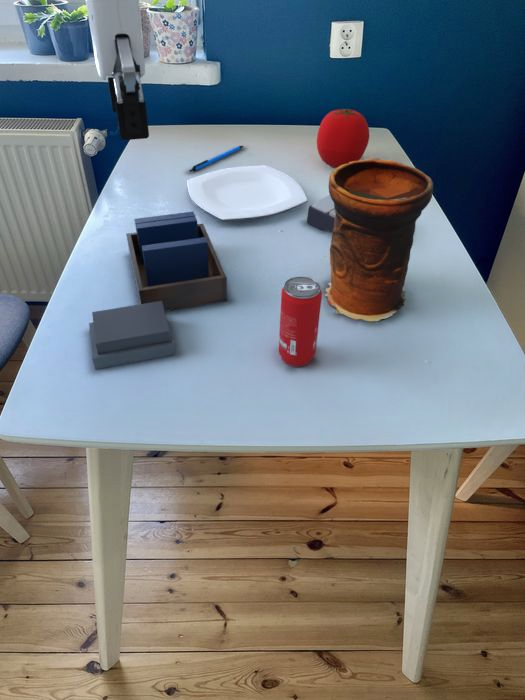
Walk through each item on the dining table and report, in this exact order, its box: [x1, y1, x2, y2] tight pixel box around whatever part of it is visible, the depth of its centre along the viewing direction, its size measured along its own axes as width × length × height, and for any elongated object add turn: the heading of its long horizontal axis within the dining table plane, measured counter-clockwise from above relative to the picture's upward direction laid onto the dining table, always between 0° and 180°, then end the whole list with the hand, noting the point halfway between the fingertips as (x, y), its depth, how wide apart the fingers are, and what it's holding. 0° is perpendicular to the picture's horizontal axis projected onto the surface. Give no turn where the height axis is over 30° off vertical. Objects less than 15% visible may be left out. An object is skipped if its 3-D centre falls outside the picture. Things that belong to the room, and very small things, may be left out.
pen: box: [188, 145, 244, 173], centre depth 127 cm, size 1×19×1 cm, turn 142°
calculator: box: [306, 194, 336, 233], centre depth 103 cm, size 11×4×15 cm
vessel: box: [324, 157, 434, 322], centre depth 81 cm, size 14×14×20 cm
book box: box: [125, 223, 228, 312], centre depth 89 cm, size 13×17×5 cm
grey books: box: [88, 301, 176, 370], centre depth 77 cm, size 11×8×4 cm
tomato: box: [316, 108, 370, 169], centre depth 122 cm, size 12×12×13 cm
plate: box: [186, 164, 309, 221], centre depth 112 cm, size 23×23×2 cm
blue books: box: [133, 211, 199, 265], centre depth 92 cm, size 10×3×7 cm, turn 107°
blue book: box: [142, 237, 209, 287], centre depth 86 cm, size 10×2×7 cm, turn 107°
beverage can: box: [278, 276, 323, 368], centre depth 72 cm, size 5×5×12 cm
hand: (130, 124), depth 65 cm, fingers open, 9 cm apart
